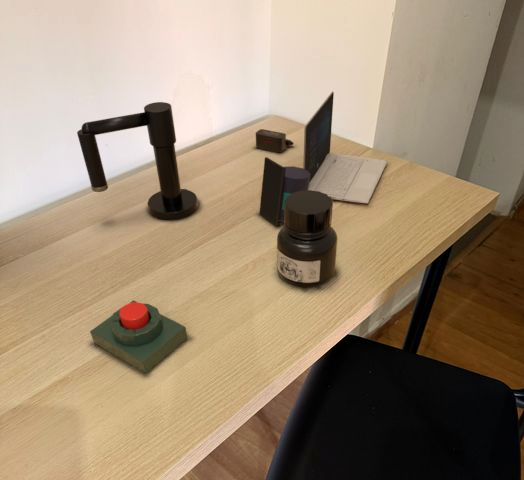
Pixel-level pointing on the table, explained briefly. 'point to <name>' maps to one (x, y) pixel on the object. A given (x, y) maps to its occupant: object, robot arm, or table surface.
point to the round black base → (170, 189)
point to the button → (134, 316)
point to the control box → (140, 339)
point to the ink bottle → (307, 240)
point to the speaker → (280, 188)
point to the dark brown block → (272, 140)
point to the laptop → (337, 162)
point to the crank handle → (153, 117)
